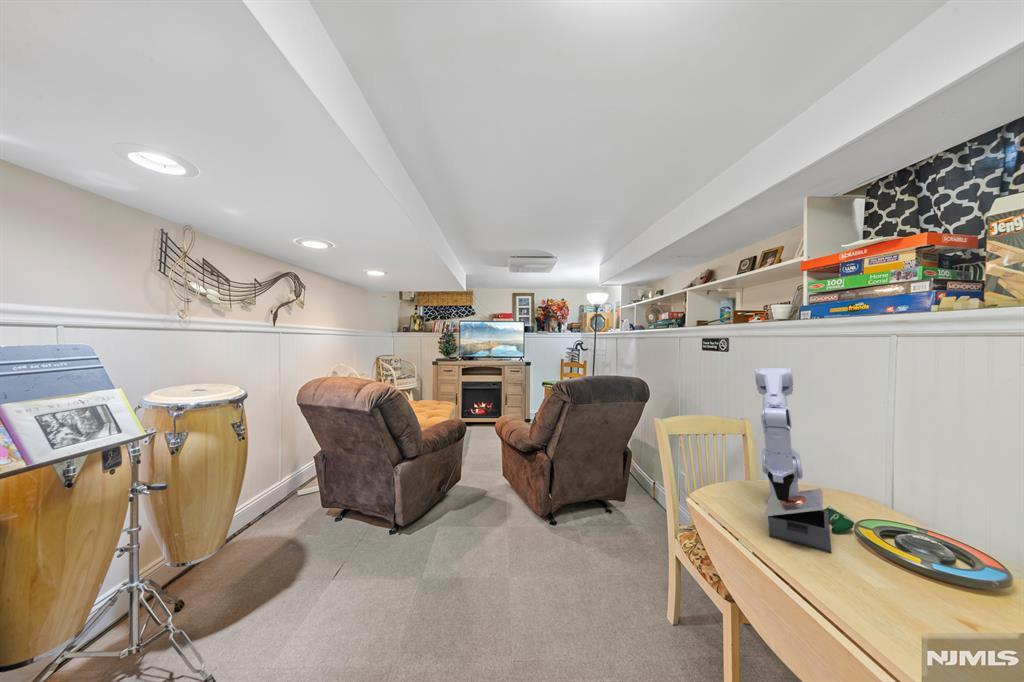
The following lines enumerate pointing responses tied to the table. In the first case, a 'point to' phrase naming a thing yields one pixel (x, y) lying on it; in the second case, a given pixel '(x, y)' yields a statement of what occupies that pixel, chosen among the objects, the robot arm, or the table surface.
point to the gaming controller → (839, 521)
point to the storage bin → (802, 529)
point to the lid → (796, 503)
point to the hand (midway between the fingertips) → (782, 500)
